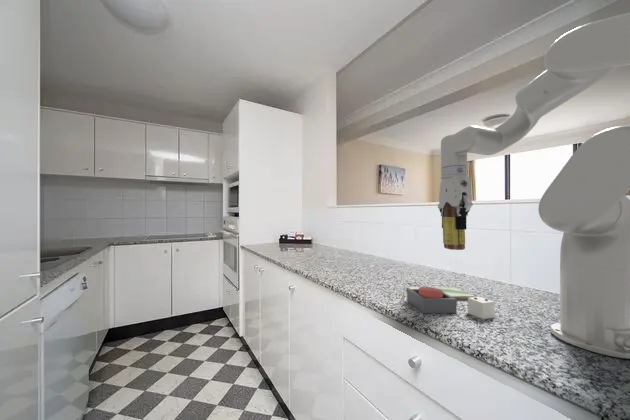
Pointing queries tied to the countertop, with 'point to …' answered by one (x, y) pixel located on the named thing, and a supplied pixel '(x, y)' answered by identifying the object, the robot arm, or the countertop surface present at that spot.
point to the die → (481, 307)
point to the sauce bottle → (452, 229)
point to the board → (452, 292)
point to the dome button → (430, 292)
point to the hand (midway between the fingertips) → (453, 228)
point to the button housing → (432, 303)
